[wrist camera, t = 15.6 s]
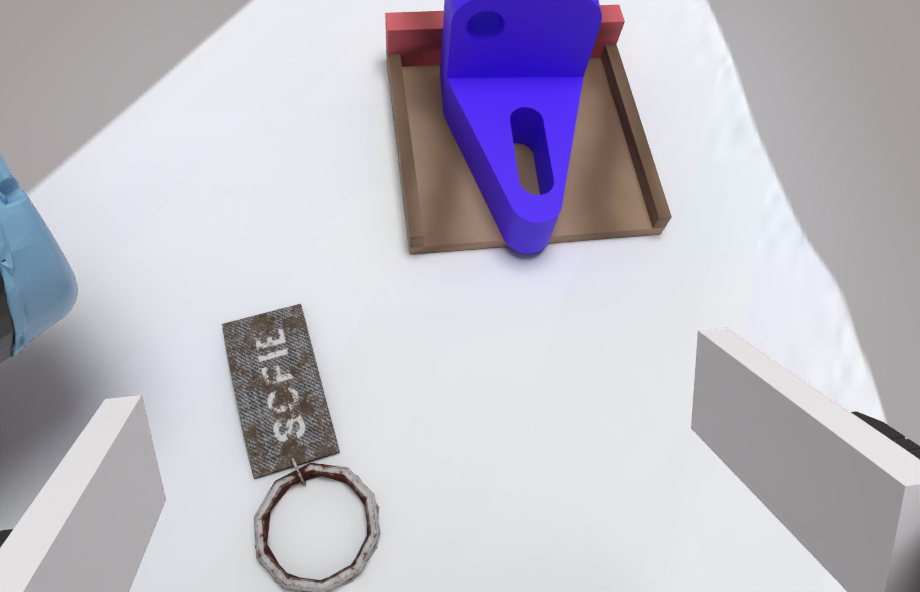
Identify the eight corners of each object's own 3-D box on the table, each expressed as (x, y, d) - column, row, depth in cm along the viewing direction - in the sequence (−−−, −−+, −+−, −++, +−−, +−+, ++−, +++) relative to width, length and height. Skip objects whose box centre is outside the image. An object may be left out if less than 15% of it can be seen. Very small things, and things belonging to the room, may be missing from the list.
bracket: (439, 74, 59) (447, -48, 48) (563, 73, 60) (597, -47, 49) (457, 256, 51) (471, 157, 40) (599, 251, 52) (649, 153, 41)
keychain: (322, 303, 50) (319, 291, 48) (396, 570, 42) (395, 567, 40) (213, 331, 48) (206, 320, 46) (270, 614, 41) (264, 613, 39)
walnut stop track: (409, 254, 52) (410, 218, 47) (386, 59, 60) (385, 12, 56) (660, 234, 54) (683, 198, 50) (603, 49, 63) (619, 4, 58)
